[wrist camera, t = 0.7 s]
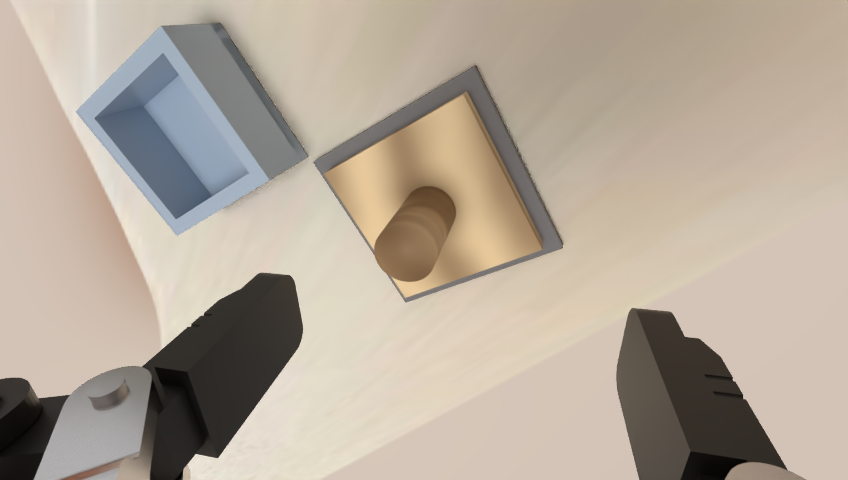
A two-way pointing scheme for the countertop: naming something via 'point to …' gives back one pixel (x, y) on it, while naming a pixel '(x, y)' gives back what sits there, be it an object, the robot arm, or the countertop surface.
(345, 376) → the countertop surface
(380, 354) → the countertop surface
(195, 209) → the dish
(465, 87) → the mat
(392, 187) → the lid
